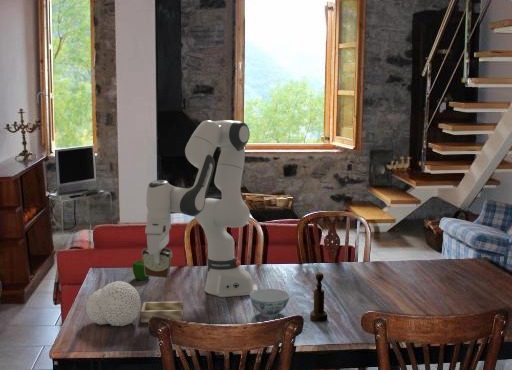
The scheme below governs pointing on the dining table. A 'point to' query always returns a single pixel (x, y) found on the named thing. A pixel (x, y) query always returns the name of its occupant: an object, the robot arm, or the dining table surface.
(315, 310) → the pepper mill
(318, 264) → the dining table surface
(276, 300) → the chinaware
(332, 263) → the dining table surface
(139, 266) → the bell pepper
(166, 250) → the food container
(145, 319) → the wooden tray
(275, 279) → the dining table surface
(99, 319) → the white bumpy round lump
